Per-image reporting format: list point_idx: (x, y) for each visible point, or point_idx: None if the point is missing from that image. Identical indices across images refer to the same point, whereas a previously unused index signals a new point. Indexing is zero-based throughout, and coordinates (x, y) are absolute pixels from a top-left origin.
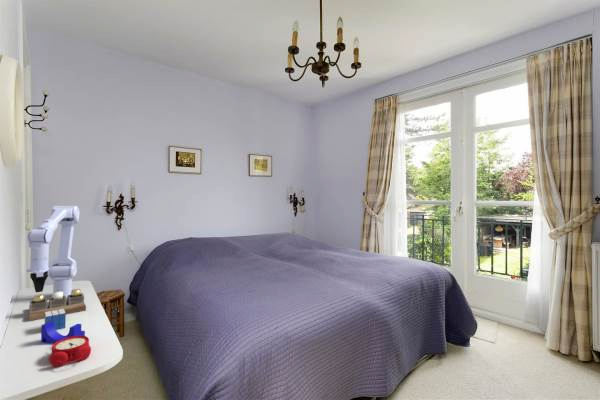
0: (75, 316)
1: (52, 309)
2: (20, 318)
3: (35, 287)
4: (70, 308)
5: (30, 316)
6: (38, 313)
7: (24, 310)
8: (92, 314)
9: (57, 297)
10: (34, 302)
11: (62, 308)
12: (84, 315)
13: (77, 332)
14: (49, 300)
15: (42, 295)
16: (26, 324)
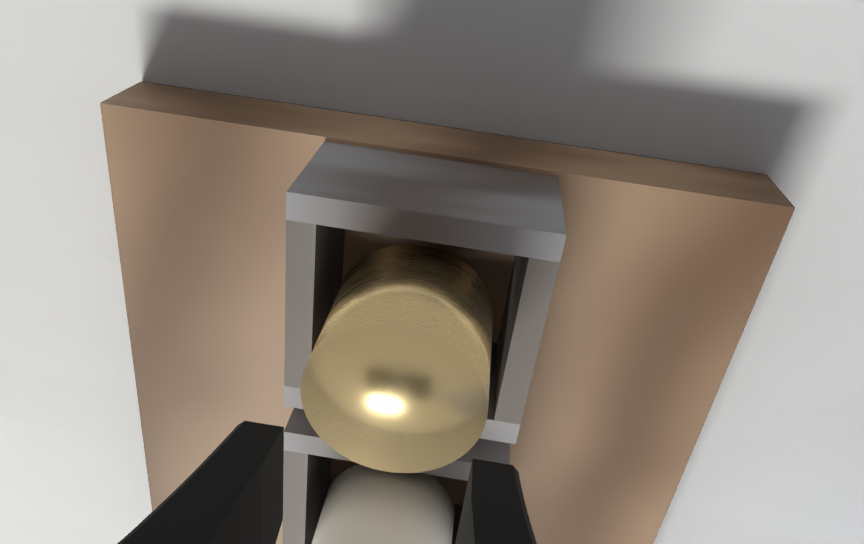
0: (44, 445)
1: (244, 365)
2: (367, 3)
3: (153, 525)
4: (157, 489)
5: (105, 110)
6: (164, 213)
7: (779, 112)
8: (26, 538)
9: (313, 537)
10: (367, 268)
11: (214, 442)
12: (32, 496)
13: None
14: None
15: (352, 443)
16: (20, 28)
